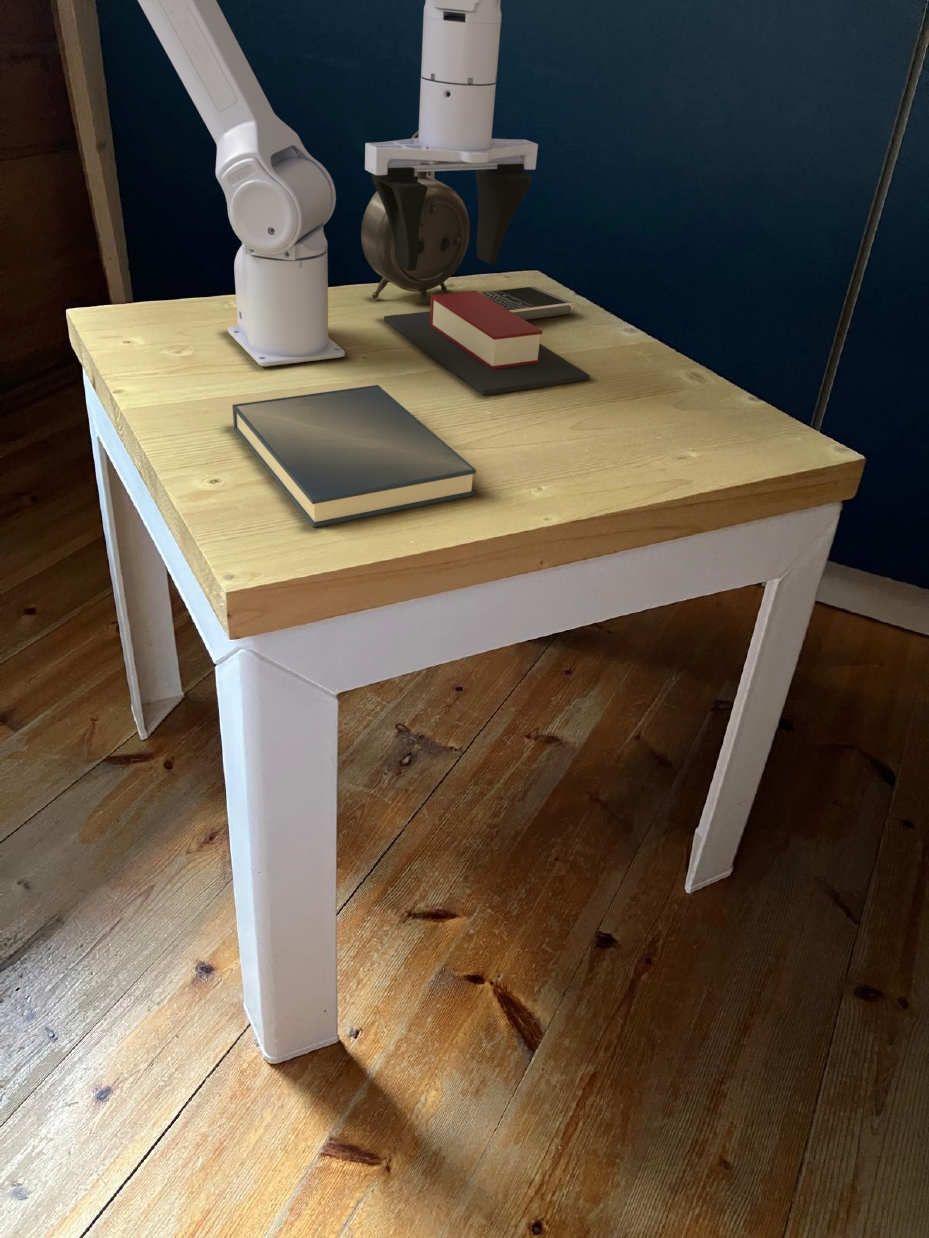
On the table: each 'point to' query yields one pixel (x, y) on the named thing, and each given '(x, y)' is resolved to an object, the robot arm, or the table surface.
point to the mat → (477, 373)
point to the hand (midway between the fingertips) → (447, 263)
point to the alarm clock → (437, 242)
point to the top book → (485, 329)
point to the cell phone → (530, 302)
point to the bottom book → (351, 454)
